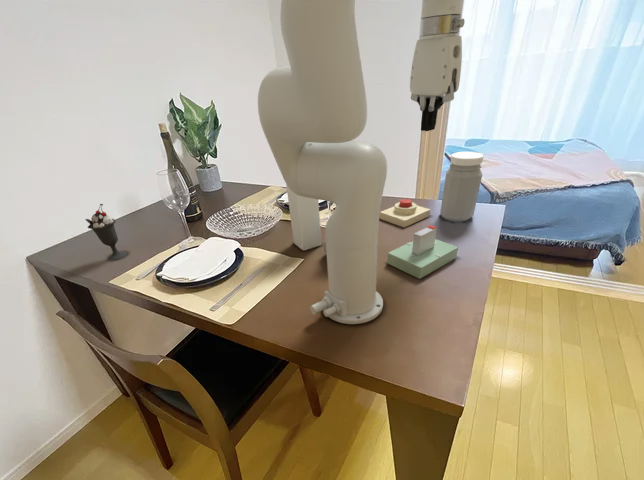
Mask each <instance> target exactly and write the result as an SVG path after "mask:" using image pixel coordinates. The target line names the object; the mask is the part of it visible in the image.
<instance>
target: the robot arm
mask: <svg viewBox="0 0 644 480" xmlns="http://www.w3.org/2000/svg"><path fill="white" fill-rule="evenodd" d="M463 1H464V0H422V3H421V14H420V23H419V24H420V25H419V34H418V35H419V37H418V39H416V44H415V47H414V51H413V57H412V63H411V69H410V78H409V79H410V80H409V91H410V100H411V101H414V102H415V103H417V104H418V105H419V111H420V112H421V121H420V131H421V132H430V131H433V130H435V129H436V126H437V119H438V111H440V110H441V108H442V106H443V105H444V104H445V103H448V102H452V101H454V99H455V93H456V92H457V91H459V88H460V81H461V73H462V62H463V40H462V39H463V38H462V37H463V36H462V35H459V32H460V29H461V28H463V27H464V26H465V18H462V15H461V14H462V7H463ZM355 6H356V0H281V3H280V17H279V18H280V31H281V36H282V40H283V44H284V47H285V52H286V56H287V59H288V63H289V65H284V66H279V67H276V68H274V69H272V70H270V71H269V72H267V73H266V75H264V77H263V78H262V80H261V83H260V85H259V89H258V93H257V111H258V118H259V122H260V126H261V128H262V131H263V134H264V137H265V139H266V141H267V143H268V146H269V148H270V151H271V153H272V155H273V158H274V160H275V162H276V164H277V167H278V169H279V171H280V173H281V174H280V175H281V176H282V178H283V180H284V183H285V185H286V184H287V186H288V187H289V188H290V190H291V191H292V192H294V193H295V194H297V195H299V196H302V197H307V198H312V199H318V201H325V202H329V203H333V204H335V209H334V211H333V212H332V213H331V215H330V216H329V217H328V219H327V221H326V224H325V229H324V230H325V231H324V237H325V241H326V252H325V254H326V253H327V254H326V265H327V268H326V269H327V282H328V283H327V284H328V289H326V290H325V291H324V295H323V298H322V299H321V301H318V302H316V303H313V304H312V305H310V306H309V310H310V312H311V314H312V315H313V316H315V315H318V314H319V313H321V312H322V313H323V315H324V317H326V318H329V319H331V320H333V321H334V322H338V323H341V324H345V325H346V324H347V325H359V324H365V323H368V322H370V321H373V320H375V319H376V318H377V317H378V316H379V315H380V314H381V313H382V311H383V308H384V299H383V297H382V295H381V294H380V293H379V292H378V291H377V276H378V275H377V272H378V251H379V248H378V247H379V244H378V243H379V227H380V226H379V225H380V212H381V204H382V199H383V195H384V190H385V185H386V181H387V174H388V162H387V158H386V155H385V154H384V152H383V150H382V149H380V148H379V147H378V146H376V145H374V144H372V143H369V142H366V141H360V140H356V139H357V138H359V137H360V135H362V133H363V131H364V130H365V128H366V125H367V120H368V103H367V102H368V101H367V93H366V87H365V80H364V74H363V68H362V60H361V54H360V48H359V47H360V46H359V40H358V33H357V32H358V31H357V25H356V14H355V13H356V12H355V10H356V9H355V8H356V7H355ZM287 186H286V187H287Z"/></svg>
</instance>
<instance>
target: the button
mask: <svg viewBox="0 0 644 480" xmlns="http://www.w3.org/2000/svg"><path fill="white" fill-rule="evenodd" d="M399 202H400V207H403V208H408V207H411V206H412V202H413V200H412V199H410V198H403V199H400V200H399Z"/></svg>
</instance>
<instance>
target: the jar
mask: <svg viewBox="0 0 644 480" xmlns="http://www.w3.org/2000/svg"><path fill="white" fill-rule="evenodd" d="M483 160H484V155H483V153H481V152H478V151H457V152H454V153H452V154H451V155H450V164H449V168H448V169H447V170H446V172H445V179H444V185H443V192H442V197H441V204H440V210H439V211H440V215H441V217H442V218H443V219H444V220H446V221H450V222H452V223H453V222H454V223H455V222H456V223H457V222H458V223H461V222H467V221H468V220H470V219H471V218H472V217H474V214H475V210H476V205H477V201H478V196H479V192H480V188H481V183H482V178H483V172H482V170H481V168H482V165H481V164H483Z"/></svg>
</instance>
